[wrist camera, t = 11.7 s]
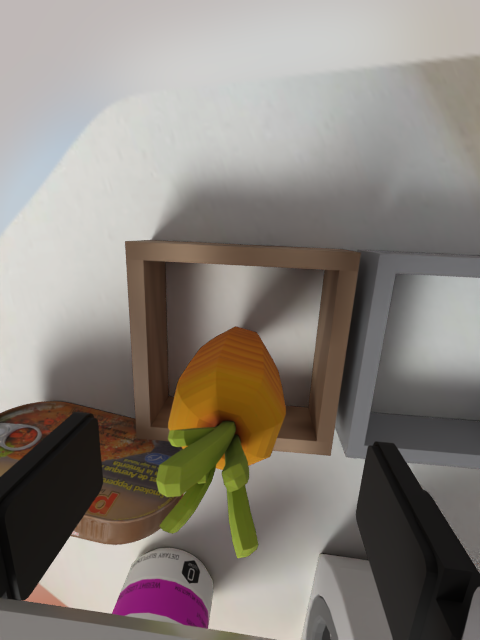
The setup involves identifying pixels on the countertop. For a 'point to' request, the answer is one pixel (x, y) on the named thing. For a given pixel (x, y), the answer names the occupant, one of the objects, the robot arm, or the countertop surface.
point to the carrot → (222, 429)
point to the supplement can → (167, 589)
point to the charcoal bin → (363, 362)
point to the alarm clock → (345, 602)
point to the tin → (117, 466)
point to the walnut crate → (150, 272)
